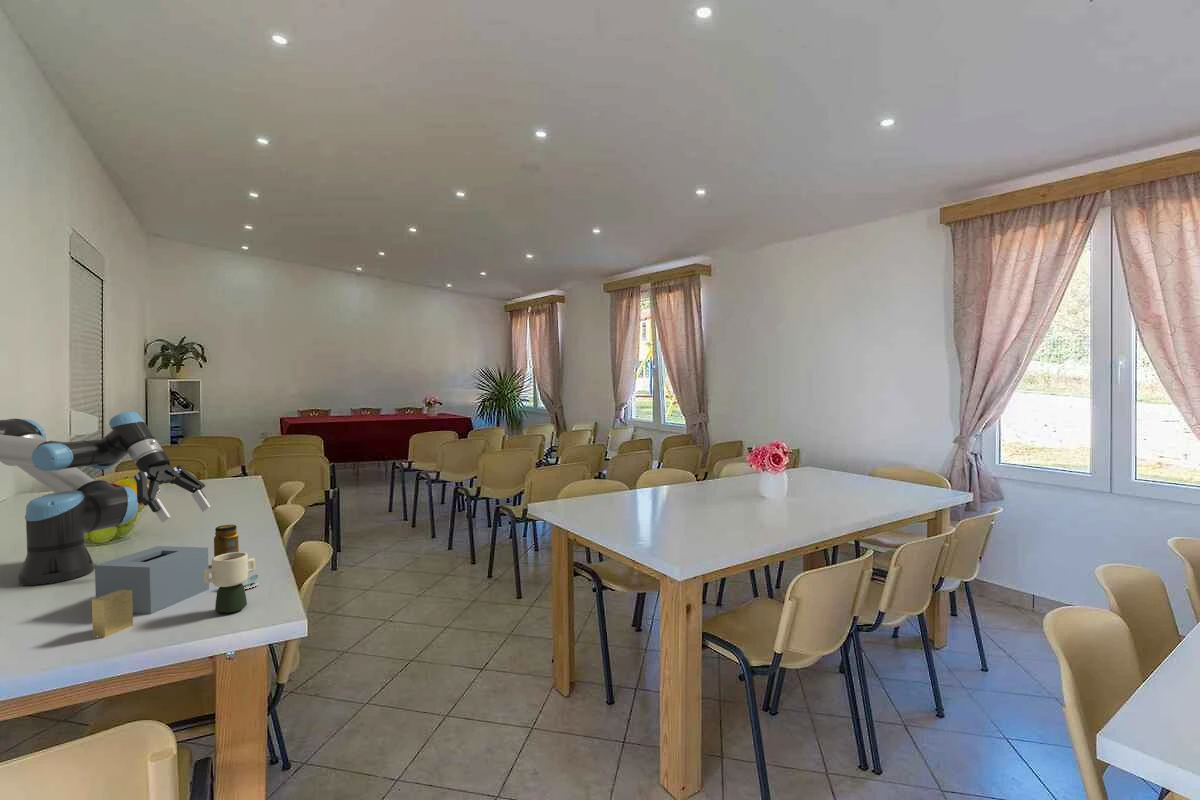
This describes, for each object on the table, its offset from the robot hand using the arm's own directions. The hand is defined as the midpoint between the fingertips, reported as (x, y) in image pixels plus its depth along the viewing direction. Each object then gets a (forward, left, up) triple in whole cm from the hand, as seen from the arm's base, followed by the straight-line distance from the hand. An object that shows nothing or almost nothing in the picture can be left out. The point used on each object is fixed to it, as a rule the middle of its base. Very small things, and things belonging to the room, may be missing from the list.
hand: (187, 514), depth 164 cm
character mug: (+41, -29, -16) cm, 53 cm away
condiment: (+13, 0, -16) cm, 20 cm away
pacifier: (+32, -15, -16) cm, 39 cm away
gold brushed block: (+24, -42, -15) cm, 51 cm away
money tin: (+16, -25, -15) cm, 34 cm away
